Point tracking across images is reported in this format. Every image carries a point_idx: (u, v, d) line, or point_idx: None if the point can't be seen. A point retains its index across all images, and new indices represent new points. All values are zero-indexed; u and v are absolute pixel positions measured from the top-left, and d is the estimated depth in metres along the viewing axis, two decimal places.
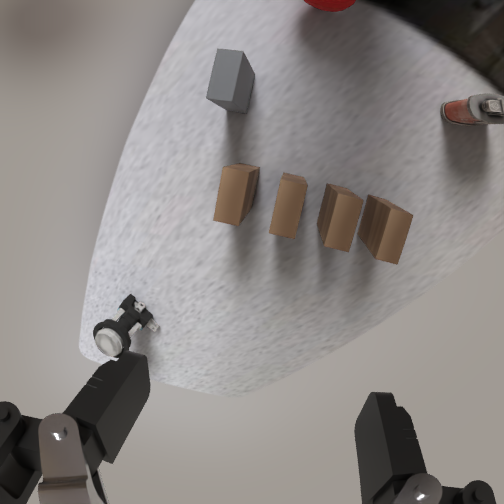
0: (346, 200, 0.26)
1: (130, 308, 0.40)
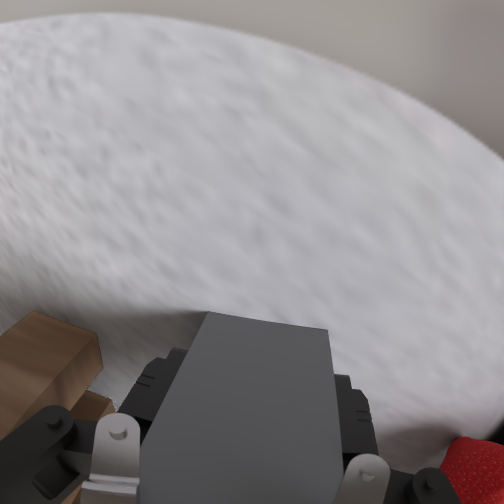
0: None
1: None
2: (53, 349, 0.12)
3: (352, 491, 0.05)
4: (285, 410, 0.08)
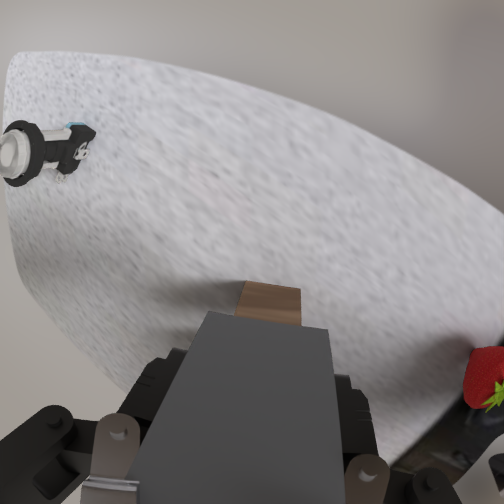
0: None
1: (74, 146, 0.23)
2: (285, 298, 0.26)
3: (352, 491, 0.05)
4: (285, 409, 0.08)
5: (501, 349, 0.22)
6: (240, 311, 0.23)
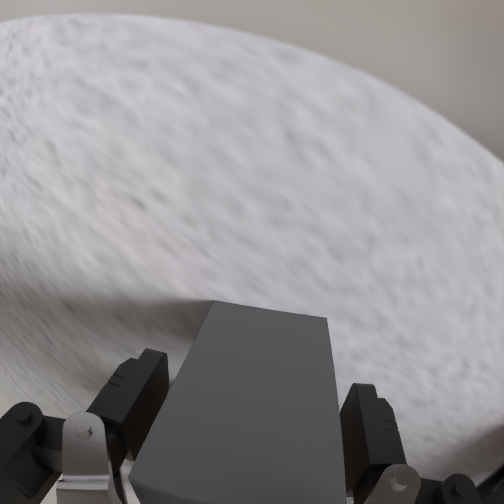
0: None
1: None
2: None
3: (382, 499, 0.05)
4: (288, 388, 0.09)
5: None
6: None
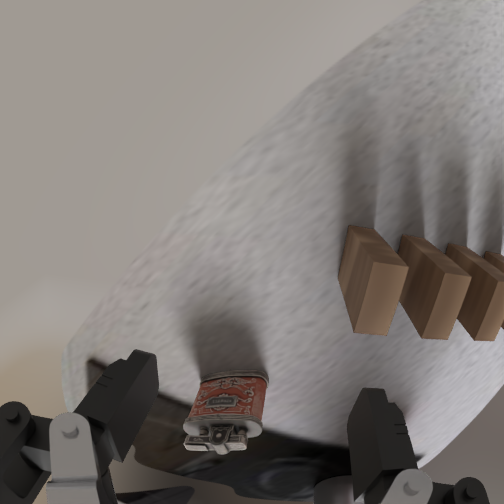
0: (440, 334, 0.18)
1: None
2: None
3: (394, 503, 0.05)
4: None
5: None
6: None
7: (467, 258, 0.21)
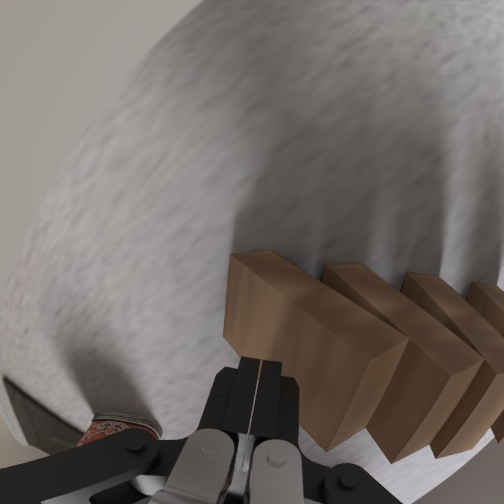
0: (420, 445, 0.09)
1: None
2: None
3: (266, 481, 0.06)
4: None
5: None
6: None
7: (439, 308, 0.12)
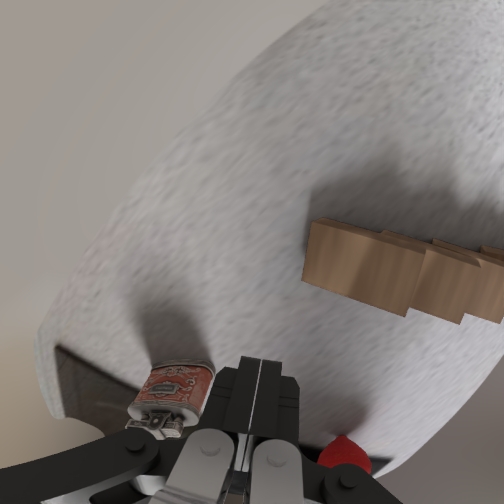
0: None
1: None
2: None
3: (266, 481, 0.06)
4: None
5: None
6: None
7: (474, 258, 0.21)
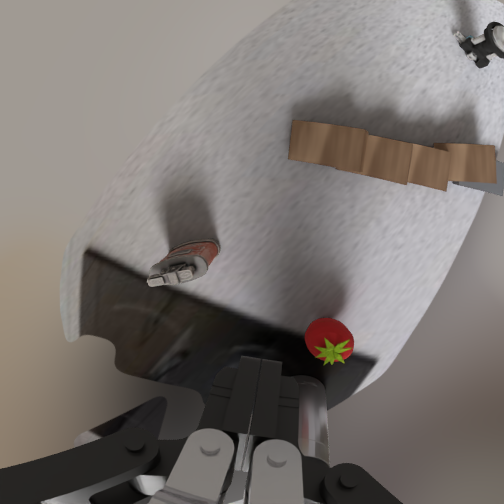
0: None
1: (481, 58, 0.27)
2: None
3: (266, 481, 0.06)
4: None
5: None
6: None
7: (414, 144, 0.32)
